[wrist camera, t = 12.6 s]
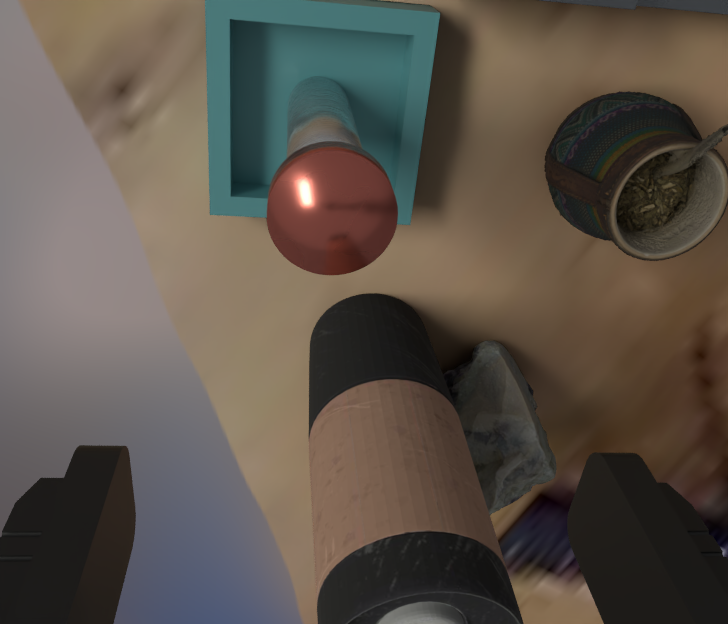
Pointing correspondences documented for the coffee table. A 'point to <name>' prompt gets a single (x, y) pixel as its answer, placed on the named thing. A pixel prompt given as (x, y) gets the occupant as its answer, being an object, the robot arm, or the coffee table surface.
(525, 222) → the coffee table surface
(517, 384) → the mineral rock
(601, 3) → the block
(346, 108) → the lock pin
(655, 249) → the mate gourd
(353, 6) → the tray
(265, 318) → the coffee table surface
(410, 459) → the travel mug
